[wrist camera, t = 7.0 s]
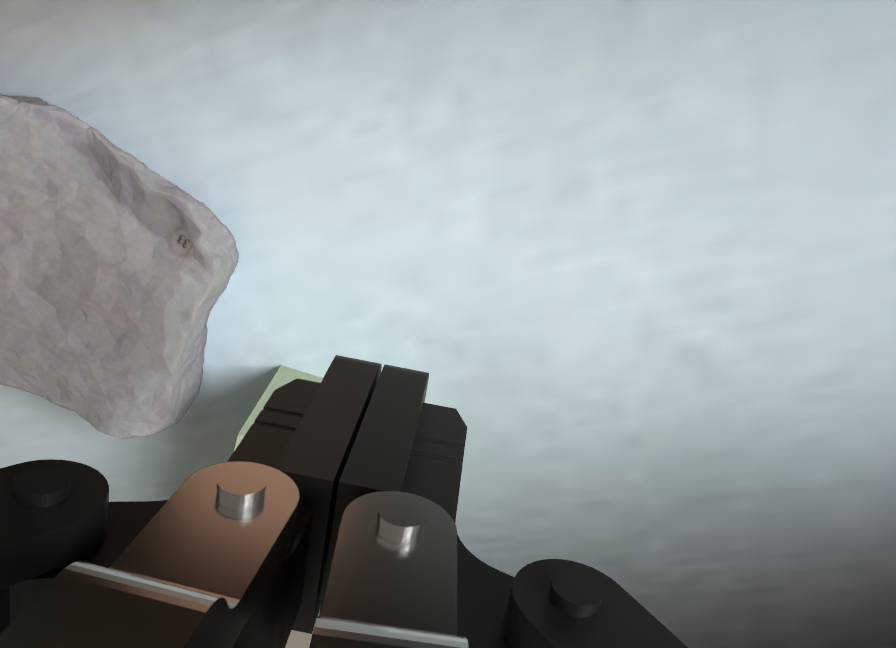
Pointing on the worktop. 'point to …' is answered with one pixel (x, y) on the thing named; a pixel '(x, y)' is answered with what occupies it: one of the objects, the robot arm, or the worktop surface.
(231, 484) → the robot arm
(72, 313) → the stone block
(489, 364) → the worktop surface
